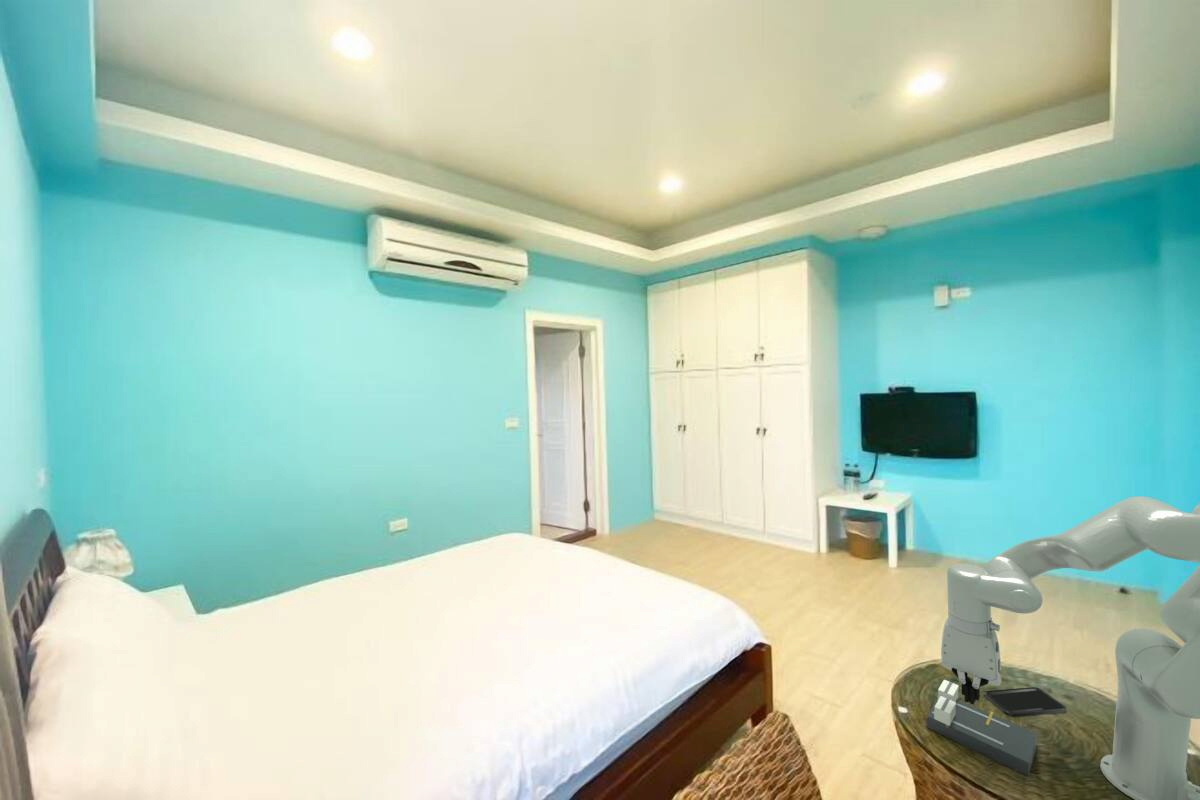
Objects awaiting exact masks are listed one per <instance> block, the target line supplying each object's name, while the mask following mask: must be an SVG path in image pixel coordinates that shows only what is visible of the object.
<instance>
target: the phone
mask: <svg viewBox="0 0 1200 800" xmlns="http://www.w3.org/2000/svg"><path fill="white" fill-rule="evenodd" d="M983 696H984V697H985V698H986V699H987V700H988V701H989V702H990V703H991V704H993V705H994V706H995V707H996V708H998V709H999V710H1000V711H1001V712H1002V713H1004V715H1006V716H1008V717H1011V718H1013V717H1025V716H1026V717H1028V716H1029V717H1030V716H1039V715H1040V716H1041V715H1050V714H1063V713H1066V711H1067V707H1066V706H1065V705H1064V704H1062V703H1061V702H1059V701H1058V700H1057V699H1055V698H1054V697H1052V696H1051V695H1050V694H1048V693H1047V692H1046V691H1045V690H1043V689H1042V688H1039V687H1036V686H1032V687H1031V686H1030V687H1029V686H1028V687H1019V688H1007V689H994V690H985V691H984V693H983Z"/></svg>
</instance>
